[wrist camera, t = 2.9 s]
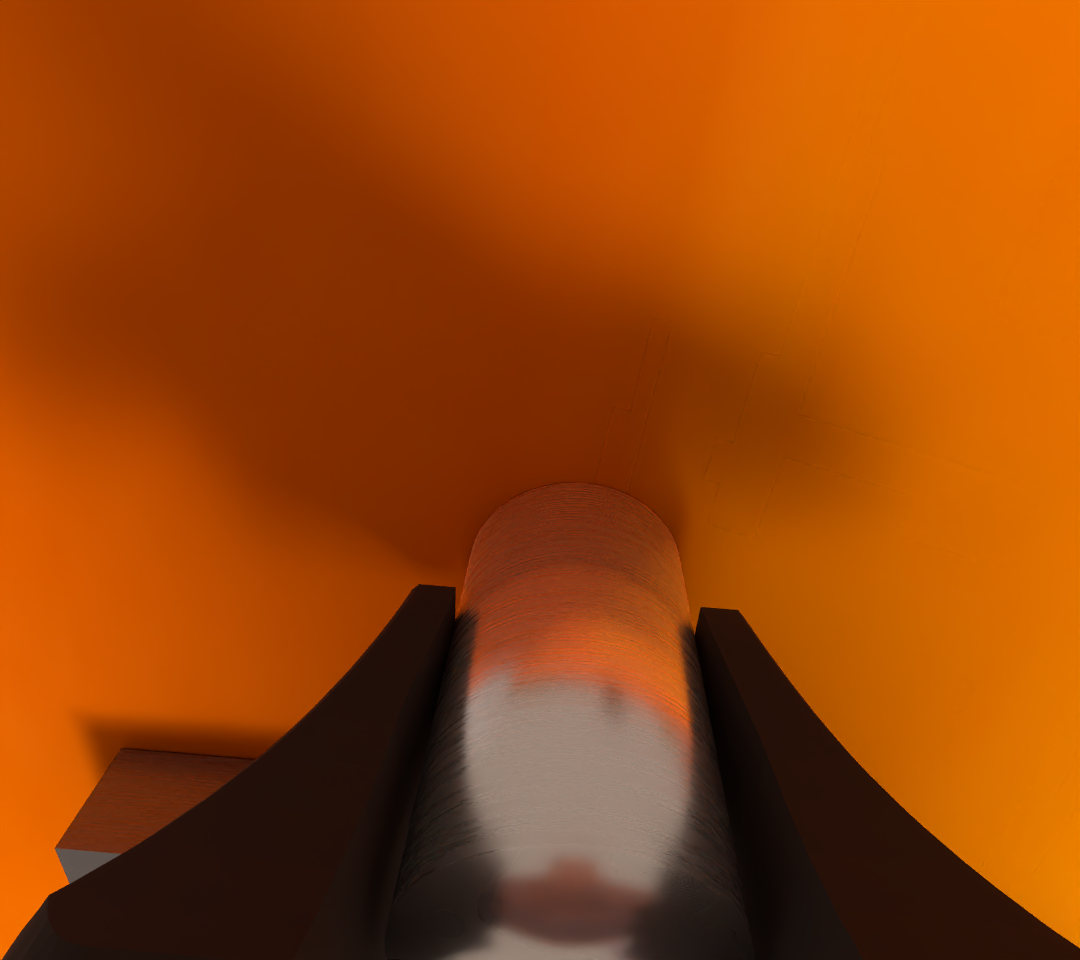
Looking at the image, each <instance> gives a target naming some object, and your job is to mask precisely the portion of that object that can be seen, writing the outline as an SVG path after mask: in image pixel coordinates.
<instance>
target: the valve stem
mask: <svg viewBox="0 0 1080 960" xmlns="http://www.w3.org/2000/svg"><path fill="white" fill-rule="evenodd" d="M385 951H386V957H387V960H754V948H753V943H752V938H751V932H750V927H749V922H748V916H747V911H746V906H745V900H744V895H743V890H742V885H741V879H740V874H739V869H738V863H737V858H736V853H735V847H734V842H733V837H732V832H731V826H730V821H729V816H728V810H727V805H726V800H725V794H724V789H723V784H722V779H721V773H720V768H719V763H718V757H717V752H716V747H715V741H714V736H713V731H712V726H711V720H710V715H709V710H708V704H707V699H706V694H705V688H704V683H703V678H702V673H701V667H700V662H699V657H698V651H697V646H696V641H695V635H694V630H693V625H692V620H691V614H690V609H689V604H688V598H687V593H686V588H685V582H684V577H683V572H682V567H681V561H680V557H679V552H678V548H677V545H676V543H675V540H674V538H673V536H672V534H671V533H670V531H669V529H668V528H667V526H666V525H665V524H664V523H663V521H662V520H661V519H660V518H659V517H658V516H657V515H656V514H655V513H654V512H653V511H652V510H651V509H650V508H648V507H647V506H646V505H644V504H643V503H641V502H640V501H639V500H637V499H635V498H633V497H631V496H629V495H627V494H625V493H623V492H620V491H617V490H615V489H612V488H608V487H604V486H600V485H595V484H587V483H560V484H552V485H547V486H543V487H539V488H536V489H533V490H530V491H527V492H525V493H523V494H520V495H518V496H516V497H514V498H513V499H511V500H510V501H508V502H506V503H505V504H503V505H502V506H501V507H500V508H499V509H497V510H496V511H495V512H494V513H493V514H492V515H491V516H490V517H489V518H488V519H487V521H486V522H485V523H484V524H483V526H482V528H481V529H480V531H479V532H478V534H477V536H476V539H475V541H474V543H473V547H472V550H471V554H470V559H469V563H468V567H467V572H466V576H465V581H464V585H463V590H462V594H461V598H460V603H459V607H458V612H457V616H456V621H455V625H454V630H453V634H452V639H451V643H450V647H449V652H448V656H447V661H446V665H445V669H444V674H443V678H442V683H441V687H440V692H439V696H438V700H437V705H436V709H435V714H434V718H433V723H432V727H431V732H430V736H429V740H428V745H427V749H426V754H425V758H424V763H423V767H422V771H421V776H420V780H419V785H418V789H417V794H416V798H415V802H414V807H413V811H412V816H411V820H410V825H409V829H408V834H407V838H406V842H405V847H404V851H403V856H402V860H401V865H400V869H399V873H398V878H397V882H396V887H395V891H394V896H393V900H392V904H391V909H390V913H389V918H388V922H387V927H386V931H385Z"/></svg>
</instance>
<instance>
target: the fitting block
mask: <svg viewBox="0 0 1080 960" xmlns="http://www.w3.org/2000/svg"><path fill="white" fill-rule="evenodd" d="M253 761H254V760H250V759H238V758H227V757H215V756H203V755H191V754H179V753H167V752H155V751H144V750H132V749H120V751H119V752H118V754H117V755H116V757H115V758H114V760H113V761H112V763H111V764H110V766H109V767H108V769H107V770H106V772H105V773H104V775H103V776H102V778H101V779H100V781H99V782H98V784H97V785H96V787H95V788H94V790H93V791H92V793H91V794H90V796H89V797H88V799H87V800H86V802H85V803H84V805H83V806H82V808H81V810H80V811H79V813H78V814H77V816H76V817H75V819H74V820H73V822H72V823H71V825H70V826H69V828H68V829H67V831H66V832H65V834H64V835H63V837H62V838H61V840H60V841H59V843H58V844H57V846H56V847H55V850H56V852H57V854H58V857H59V859H60V862H61V864H62V866H63V869H64V871H65V874H66V876H67V878H68V881H69V883H72V882H74V881H76V880H77V879H79V878H81V877H82V876H84V875H86V874H88V873H89V872H91V871H93V870H95V869H96V868H98V867H100V866H102V865H103V864H105V863H107V862H108V861H110V860H112V859H114V858H115V857H117V856H119V855H121V854H122V853H124V852H126V851H128V850H129V849H131V848H132V847H134V846H136V845H137V844H139V843H140V842H142V841H143V840H145V839H147V838H148V837H150V836H151V835H153V834H154V833H156V832H157V831H159V830H160V829H162V828H163V827H164V826H166V825H167V824H169V823H170V822H172V821H173V820H175V819H176V818H178V817H179V816H181V815H182V814H184V813H185V812H186V811H188V810H189V809H191V808H192V807H194V806H195V805H197V804H198V803H200V802H201V801H203V800H204V799H205V798H207V797H208V796H210V795H211V794H212V793H214V792H215V791H216V790H218V789H219V788H220V787H222V786H223V785H224V784H226V783H227V782H228V781H230V780H231V779H232V778H233V777H235V776H236V775H237V774H238V773H240V772H241V771H242V770H243V769H244V768H246V767H247V766H248V765H249V764H251V763H252V762H253Z"/></svg>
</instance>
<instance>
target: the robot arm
mask: <svg viewBox="0 0 1080 960" xmlns="http://www.w3.org/2000/svg"><path fill="white" fill-rule="evenodd" d="M455 593H456V587H446V586H434V585H421V584H419V585H418V586H416V587H415V588H414V589H412V591H411V592H410V594H409V595H408V597H407V598H406V600H405V601H404V602H403V604H402V605H401V607H400V608H399V610H398V611H397V612H396V614H395V615H394V616H393V618H392V619H391V620H390V622H389V623H388V624H387V625H386V627H385V628H384V629H383V630H382V632H381V633H380V634H379V636H378V637H377V638H376V639H375V640H374V642H373V643H372V644H371V645H370V646H369V648H368V649H367V650H366V651H365V652H364V653H363V655H362V656H361V657H360V658H359V659H358V661H357V662H356V663H355V664H354V665H353V666H352V668H351V669H350V670H349V671H348V672H347V673H346V674H345V675H344V676H343V677H342V678H341V679H340V681H339V682H338V683H337V684H336V685H335V686H334V687H333V688H332V689H331V690H330V691H329V692H328V693H327V694H326V695H325V696H324V697H323V698H322V699H321V700H320V701H319V702H318V704H317V705H316V706H315V707H314V708H313V709H312V710H311V711H309V712H308V713H307V714H306V715H305V716H304V717H303V718H302V719H301V720H300V721H299V722H298V723H297V724H296V725H295V726H294V727H293V728H292V729H290V730H289V731H288V732H287V733H286V734H285V735H284V736H283V737H281V738H280V739H279V740H278V741H277V742H276V743H275V744H274V745H272V746H271V747H270V748H269V749H268V750H267V751H265V752H264V753H263V754H262V755H261V756H259V757H258V758H257V759H256V760H254V761H253V762H252V763H251V764H249V765H248V766H247V767H246V768H244V769H243V770H242V771H241V772H240V773H238V774H237V775H236V776H235V777H233V778H232V779H231V780H230V781H228V782H227V783H226V784H224V785H223V786H222V787H220V788H219V789H218V790H216V791H215V792H214V793H212V794H211V795H210V796H208V797H207V798H205V799H204V800H203V801H201V802H200V803H198V804H197V805H195V806H194V807H192V808H191V809H189V810H188V811H186V812H185V813H184V814H182V815H181V816H179V817H178V818H176V819H175V820H173V821H172V822H170V823H169V824H167V825H166V826H164V827H163V828H162V829H160V830H159V831H157V832H156V833H154V834H153V835H151V836H150V837H148V838H147V839H145V840H143V841H142V842H140V843H139V844H137V845H136V846H134V847H132V848H131V849H129V850H128V851H126V852H124V853H122V854H121V855H119V856H117V857H115V858H114V859H112V860H110V861H108V862H107V863H105V864H103V865H102V866H100V867H98V868H96V869H95V870H93V871H91V872H89V873H88V874H86V875H84V876H82V877H81V878H79V879H77V880H76V881H74V882H72V883H70V884H69V885H67V886H65V887H63V888H61V889H59V890H58V891H56V892H54V893H52V894H50V895H49V896H48V897H47V899H46V900H45V901H44V903H43V904H42V906H41V907H40V908H39V910H38V911H37V912H36V913H35V915H34V916H33V917H32V918H31V920H30V921H29V922H28V923H27V925H26V926H25V927H24V928H23V930H22V931H21V932H20V934H19V935H18V937H17V938H16V940H15V941H14V942H13V944H12V945H11V947H10V948H9V950H8V951H7V953H6V954H5V956H4V957H3V959H2V960H387V957H386V951H385V931H386V927H387V922H388V918H389V913H390V909H391V904H392V900H393V896H394V891H395V887H396V882H397V878H398V873H399V869H400V865H401V860H402V856H403V851H404V847H405V842H406V838H407V834H408V829H409V825H410V820H411V816H412V811H413V807H414V802H415V798H416V794H417V789H418V785H419V780H420V776H421V771H422V767H423V763H424V758H425V754H426V749H427V745H428V740H429V736H430V732H431V727H432V723H433V718H434V714H435V709H436V705H437V700H438V696H439V692H440V687H441V683H442V678H443V674H444V669H445V665H446V661H447V656H448V652H449V647H450V643H451V639H452V634H453V630H454V625H455ZM695 641H696V646H697V651H698V657H699V662H700V667H701V673H702V678H703V683H704V688H705V694H706V699H707V704H708V710H709V715H710V720H711V726H712V731H713V736H714V741H715V747H716V752H717V757H718V763H719V768H720V773H721V779H722V784H723V789H724V794H725V800H726V805H727V810H728V816H729V821H730V826H731V832H732V837H733V842H734V847H735V853H736V858H737V863H738V869H739V874H740V879H741V885H742V890H743V895H744V900H745V906H746V911H747V916H748V922H749V927H750V932H751V938H752V943H753V948H754V960H1080V948H1079V947H1077V946H1076V945H1074V944H1073V943H1071V942H1070V941H1068V940H1067V939H1065V938H1064V937H1062V936H1061V935H1059V934H1058V933H1056V932H1055V931H1054V930H1052V929H1051V928H1049V927H1048V926H1047V925H1045V924H1044V923H1042V922H1041V921H1040V920H1038V919H1037V918H1036V917H1034V916H1033V915H1032V914H1030V913H1029V912H1028V911H1026V910H1025V909H1024V908H1023V907H1021V906H1020V905H1019V904H1017V903H1016V902H1015V901H1013V900H1012V899H1011V898H1009V897H1008V896H1007V895H1005V894H1004V893H1003V892H1001V891H1000V890H999V889H997V888H996V887H995V886H994V885H992V884H991V883H990V882H989V881H987V880H986V879H985V878H984V877H982V876H981V875H980V874H979V873H977V872H976V871H975V870H974V869H972V868H971V867H970V866H969V865H967V864H966V863H965V862H964V861H963V860H961V859H960V858H959V857H958V856H957V855H956V854H954V853H953V852H952V851H951V850H950V849H949V848H947V847H946V846H945V845H944V844H943V843H942V842H940V841H939V840H938V839H937V838H936V837H935V836H933V835H932V834H931V833H930V832H929V831H928V830H927V829H925V828H924V827H923V826H922V825H921V824H920V823H919V822H918V821H917V820H915V819H914V818H913V817H912V816H911V815H910V814H909V813H908V812H907V811H906V810H905V809H904V808H902V807H901V806H900V805H899V804H898V803H897V802H896V801H895V800H894V799H893V798H892V797H891V796H890V795H889V794H888V793H887V792H886V791H885V790H884V789H883V788H882V787H881V786H880V785H879V784H878V783H877V782H876V781H875V780H874V779H873V778H872V777H871V776H870V775H869V774H868V773H867V772H866V771H865V770H864V769H863V768H862V767H861V766H860V765H859V764H858V763H857V761H856V760H855V759H854V758H853V757H852V756H851V755H850V754H849V753H848V751H847V750H846V749H845V748H844V747H843V746H842V745H841V743H840V742H839V741H838V740H837V739H836V738H835V737H834V735H833V734H832V733H831V732H830V731H829V730H828V728H827V727H826V726H825V725H824V724H823V722H822V721H821V720H820V719H819V718H818V716H817V715H816V714H815V713H814V712H813V710H812V709H811V708H810V706H809V705H808V704H807V703H806V701H805V700H804V699H803V698H802V696H801V695H800V694H799V693H798V691H797V690H796V689H795V687H794V686H793V685H792V684H791V682H790V681H789V680H788V678H787V677H786V676H785V674H784V673H783V672H782V670H781V669H780V668H779V666H778V665H777V663H776V662H775V661H774V659H773V658H772V657H771V655H770V654H769V652H768V651H767V650H766V648H765V647H764V645H763V644H762V643H761V641H760V640H759V638H758V637H757V635H756V634H755V633H754V631H753V630H752V628H751V627H750V625H749V624H748V623H747V621H746V620H745V618H744V617H743V616H742V614H741V613H740V612H739V611H738V610H730V609H718V608H706V607H701V609H700V613H699V618H698V623H697V627H696V632H695Z"/></svg>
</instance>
